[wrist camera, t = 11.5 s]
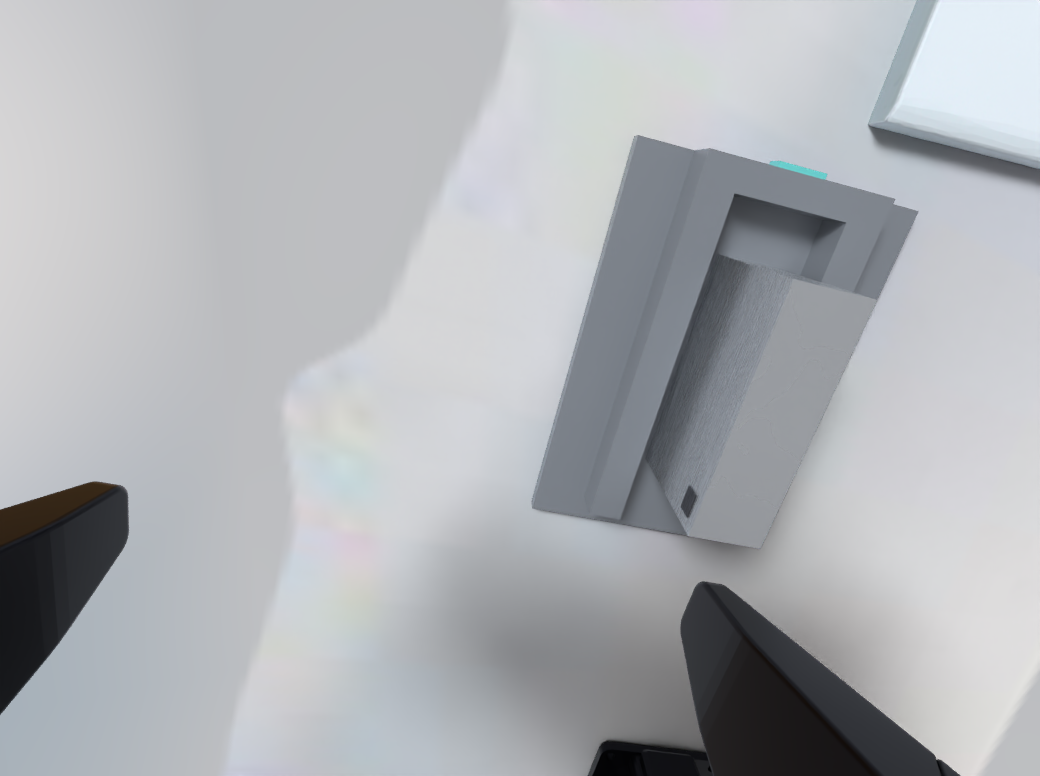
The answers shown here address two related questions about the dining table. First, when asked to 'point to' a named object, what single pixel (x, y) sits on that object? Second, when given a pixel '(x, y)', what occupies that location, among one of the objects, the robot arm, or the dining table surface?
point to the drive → (750, 396)
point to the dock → (688, 303)
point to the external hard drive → (968, 78)
